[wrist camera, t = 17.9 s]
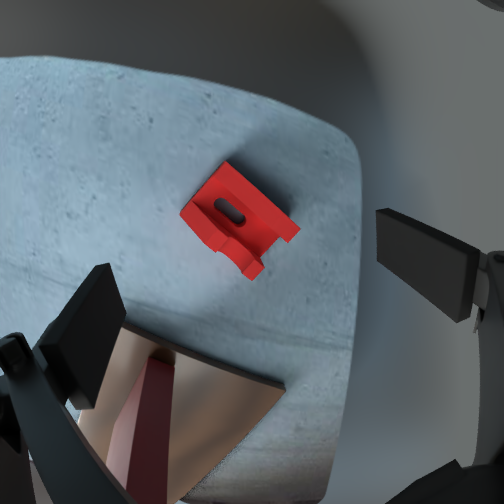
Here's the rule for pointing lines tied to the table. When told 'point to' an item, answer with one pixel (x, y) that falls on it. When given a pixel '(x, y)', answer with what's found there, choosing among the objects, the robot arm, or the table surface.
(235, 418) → the stand
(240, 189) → the bracket
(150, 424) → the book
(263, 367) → the table surface
